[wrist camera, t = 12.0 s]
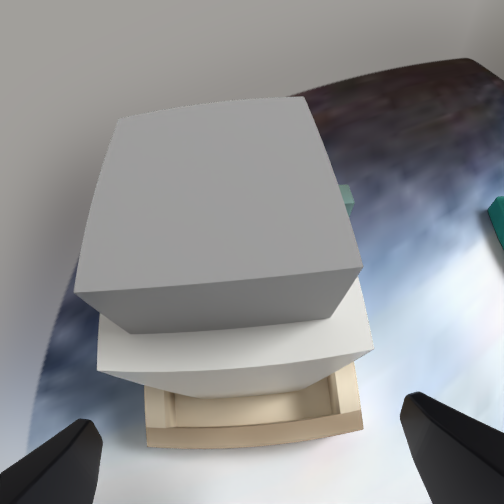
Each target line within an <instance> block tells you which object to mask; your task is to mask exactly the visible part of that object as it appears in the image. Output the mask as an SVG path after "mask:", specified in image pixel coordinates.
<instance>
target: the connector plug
mask: <svg viewBox="0 0 504 504" xmlns="http://www.w3.org/2000/svg"><path fill="white" fill-rule="evenodd" d="M362 268H363V264H362V260H361V257H360V253H359V250H358V246H357V243H356V239H355V236H354V233H353V229H352V226H351V223H350V220H349V216H348V213H347V210H346V207H345V204H344V201H343V198H342V195H341V192H340V189H339V186H338V183H337V180H336V177H335V175H334V172H333V169H332V166H331V164H330V161H329V158H328V155H327V153H326V150H325V147H324V145H323V142H322V140H321V137H320V135H319V132H318V130H317V127H316V125H315V122H314V120H313V117H312V115H311V112H310V110H309V108H308V105H307V103H306V101H305V98H304V97H278V98H257V99H243V100H232V101H223V102H213V103H204V104H197V105H189V106H183V107H176V108H170V109H164V110H159V111H153V112H148V113H143V114H138V115H133V116H128V117H124V118H120V119H119V120H118V122H117V125H116V127H115V130H114V133H113V136H112V139H111V141H110V144H109V147H108V150H107V153H106V156H105V159H104V162H103V165H102V169H101V172H100V176H99V179H98V182H97V186H96V189H95V193H94V196H93V200H92V204H91V208H90V212H89V216H88V220H87V224H86V229H85V233H84V238H83V243H82V247H81V253H80V258H79V263H78V269H77V275H76V281H75V288H74V293H75V294H76V295H77V296H79V297H80V298H81V299H83V300H84V301H85V302H86V303H88V304H89V305H90V306H92V307H93V308H94V309H96V310H97V311H98V312H100V318H99V333H98V352H97V371H100V372H103V373H106V374H109V375H112V376H115V377H118V378H122V379H125V380H128V381H132V382H135V383H138V384H142V385H146V386H149V387H153V388H157V389H161V390H165V391H169V392H173V393H177V394H181V395H186V396H190V397H195V398H200V399H219V398H235V397H248V396H259V395H269V394H278V393H286V392H294V391H300V390H302V389H304V388H306V387H308V386H310V385H312V384H314V383H316V382H318V381H320V380H322V379H323V378H325V377H327V376H329V375H331V374H332V373H334V372H336V371H338V370H340V369H341V368H343V367H345V366H347V365H348V364H350V363H352V362H353V361H355V360H357V359H358V358H360V357H362V356H363V355H365V354H367V353H368V352H370V351H372V350H373V349H374V346H373V341H372V336H371V331H370V326H369V321H368V317H367V312H366V308H365V303H364V299H363V295H362V291H361V287H360V283H359V279H358V275H359V273H360V271H361V270H362Z"/></svg>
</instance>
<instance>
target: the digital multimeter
mask: <svg viewBox="0 0 504 504" xmlns="http://www.w3.org/2000/svg"><path fill="white" fill-rule="evenodd" d="M488 213H489V216H490V218H491V221H492V224H493V226H494V229H495V231H496V234H497V236H498V239H499V241H500V243H501V245H502V247H503V249H504V196H500V197H497V198H496V199H495V201H494V202H493V203H492V204H491V206H490V207H489V208H488Z"/></svg>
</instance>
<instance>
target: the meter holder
mask: <svg viewBox="0 0 504 504" xmlns="http://www.w3.org/2000/svg"><path fill="white" fill-rule="evenodd" d="M338 186H339V189H340V192H341V195H342V198H343V201H344V204H345V207H346V210H347V213H348V216H349V217H350V214H351V211H352V209H353V206H354V200H353V197H352V194H351V191H350V188H349V186H348V185H338ZM144 400H145V422H146V437H147V447H158V448H180V449H219V448H242V447H256V446H267V445H277V444H285V443H293V442H300V441H307V440H313V439H319V438H325V437H330V436H335V435H340V434H345V433H350V432H354V431H358V430H363V421H362V413H361V406H360V398H359V391H358V384H357V378H356V371H355V365H354V361H353V362H352V363H350V364H348V365H347V366H345V367H343V368H341V369H340V370H338V371H336V372H334V373H332V374H331V375H329V376H327V377H325V378H323V379H322V380H320V381H318V382H316V383H314V384H312V385H310V386H308V387H306V388H304V389H302V390H300V391H294V392H286V393H278V394H269V395H259V396H248V397H235V398H219V399H200V398H195V397H190V396H186V395H181V394H177V393H173V392H169V391H165V390H161V389H157V388H153V387H149V386H146V385H144Z"/></svg>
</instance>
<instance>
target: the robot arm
mask: <svg viewBox="0 0 504 504" xmlns="http://www.w3.org/2000/svg"><path fill="white" fill-rule="evenodd" d="M400 421H401V424H402V427H403V430H404V433H405V436H406V439H407V442H408V445H409V448H410V452H411V455H412V458H413V460H414V463H415V465H416V468H417V470H418V472H419V474H420V476H421V479H422V481H423V483H424V485H425V487H426V490H427V492H428V494H429V497H430V499H431V501H432V504H504V433H503V432H501V431H499V430H496V429H494V428H492V427H490V426H488V425H486V424H484V423H482V422H480V421H477V420H475V419H473V418H471V417H469V416H467V415H465V414H463V413H461V412H459V411H457V410H455V409H453V408H451V407H449V406H447V405H445V404H443V403H441V402H439V401H437V400H435V399H433V398H431V397H429V396H427V395H425V394H423V393H422V392H414V393H411V394H408V395H406V397H405V399H404V402H403V406H402V409H401V413H400ZM102 446H103V441H102V438H101V436H100V434H99V432H98V430H97V429H96V427H95V425H94V423H93V422H92V421H91V420H87V419H78V420H76V421H75V422H73V423H72V424H71V425H69V426H68V427H66V428H65V429H64V430H62V431H61V432H59V433H58V434H57V435H55V436H54V437H52V438H51V439H49V440H48V441H47V442H45V443H44V444H42V445H41V446H39V447H38V448H37V449H35V450H34V451H32V452H31V453H29V454H28V455H26V456H25V457H24V458H22V459H21V460H19V461H18V462H16V463H15V464H13V465H12V466H10V467H9V468H7V469H6V470H4V471H3V472H1V474H0V504H92V503H93V499H94V495H95V491H96V486H97V481H98V474H99V466H100V459H101V452H102Z"/></svg>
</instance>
